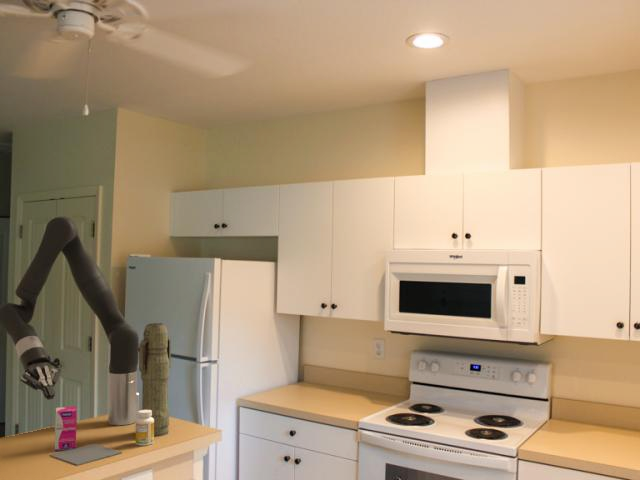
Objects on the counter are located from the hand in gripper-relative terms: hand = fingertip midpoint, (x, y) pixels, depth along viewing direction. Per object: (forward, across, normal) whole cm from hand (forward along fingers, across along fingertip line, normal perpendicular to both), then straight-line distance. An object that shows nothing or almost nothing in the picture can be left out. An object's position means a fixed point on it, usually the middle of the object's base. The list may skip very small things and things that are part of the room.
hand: (51, 397), depth 189 cm
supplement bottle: (+26, +17, -7) cm, 32 cm away
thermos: (+21, +26, -2) cm, 34 cm away
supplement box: (+16, 0, +4) cm, 16 cm away
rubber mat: (+23, 0, -4) cm, 23 cm away
